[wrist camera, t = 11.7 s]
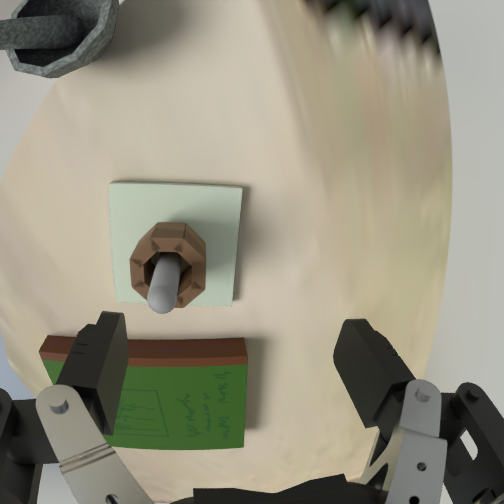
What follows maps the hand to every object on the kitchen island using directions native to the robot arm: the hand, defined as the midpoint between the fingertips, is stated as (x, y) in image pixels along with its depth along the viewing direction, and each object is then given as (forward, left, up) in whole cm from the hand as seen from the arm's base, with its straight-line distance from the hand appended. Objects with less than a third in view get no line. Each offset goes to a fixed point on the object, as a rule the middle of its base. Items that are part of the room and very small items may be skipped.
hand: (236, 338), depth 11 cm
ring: (+4, -4, -17) cm, 18 cm away
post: (+4, -4, -19) cm, 20 cm away
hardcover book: (+25, -8, -20) cm, 33 cm away
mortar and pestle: (-16, -15, -20) cm, 29 cm away
